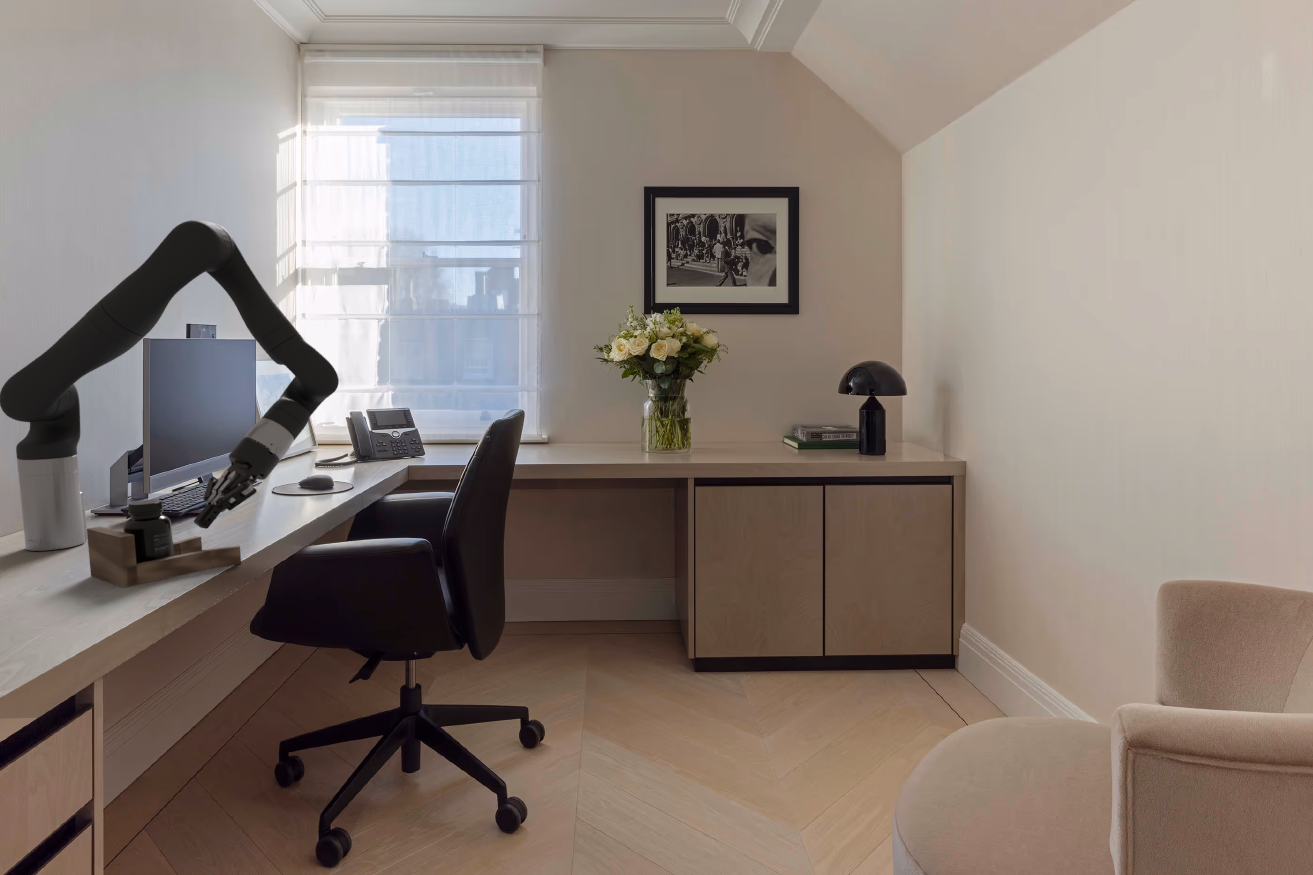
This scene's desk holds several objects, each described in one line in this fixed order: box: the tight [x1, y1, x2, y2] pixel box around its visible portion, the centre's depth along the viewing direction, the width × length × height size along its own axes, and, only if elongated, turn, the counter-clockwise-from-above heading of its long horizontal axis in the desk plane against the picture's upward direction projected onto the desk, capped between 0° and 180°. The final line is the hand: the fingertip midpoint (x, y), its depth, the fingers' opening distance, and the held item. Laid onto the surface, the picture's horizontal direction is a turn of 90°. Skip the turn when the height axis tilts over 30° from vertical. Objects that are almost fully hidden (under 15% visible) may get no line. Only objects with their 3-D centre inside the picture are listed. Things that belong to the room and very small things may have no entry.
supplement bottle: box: [122, 499, 174, 564], centre depth 137 cm, size 7×7×12 cm
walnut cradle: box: [86, 526, 242, 588], centre depth 139 cm, size 18×15×8 cm
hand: (199, 525), depth 143 cm, fingers closed
